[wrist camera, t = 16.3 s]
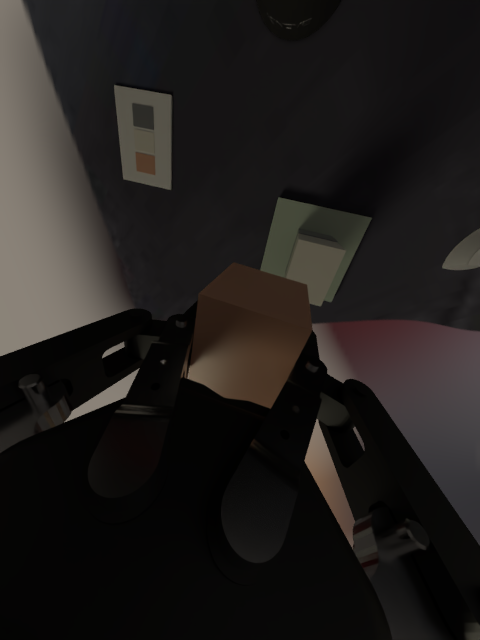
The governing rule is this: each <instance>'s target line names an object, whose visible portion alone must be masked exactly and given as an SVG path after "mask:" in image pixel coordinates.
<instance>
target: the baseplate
mask: <svg viewBox="0 0 480 640" xmlns="http://www.w3.org/2000/svg"><path fill="white" fill-rule="evenodd" d="M371 219H372V218H370V217H366V216H361V215H357V214H352V213H348V212H343V211H339V210H334V209H329V208H325V207H320V206H316V205H311V204H307V203H302V202H298V201H293V200H289V199H284V198H279V197H278V201H277V205H276V209H275V213H274V217H273V221H272V225H271V229H270V233H269V237H268V241H267V245H266V249H265V253H264V257H263V261H262V265H261V269H260V271H264V272H267V273H270V274H274V275H277V276H280V277H285V274H286V270H287V267H288V264H289V261H290V258H291V255H292V252H293V249H294V245H295V242H296V239H297V236H298V233H300V234H304V235H308V236H312V237H316V238H321V239H325V240H329V241H333V242H337V243H338V244H339V245H341V246H342V247H343V248H344V249H345V250H346V252H345V255H344V257H343V259H342V261H341V263H340V265H339V268H338V270H337V272H336V274H335V276H334V279H333V281H332V283H331V285H330V287H329V290H328V292H327V294H326V296H325V298H324V300H325V301H329V302H332V300H333V297H334V295H335V293H336V291H337V289H338V287H339V285H340V283H341V281H342V279H343V277H344V275H345V273H346V271H347V269H348V266H349V264H350V262H351V260H352V258H353V256H354V254H355V252H356V250H357V248H358V246H359V244H360V242H361V240H362V238H363V235H364V233H365V231H366V229H367V227H368V225H369V223H370V221H371Z"/></svg>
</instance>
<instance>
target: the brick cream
mask: <svg viewBox="0 0 480 640" xmlns="http://www.w3.org/2000/svg"><path fill="white" fill-rule="evenodd" d="M345 252H346V250H345V249H344V248H343V247H342V246H341V245H339V244H338V243H337V242H333V241H329V240H325V239H321V238H316V237H312V236H308V235H304V234H300V233H298V236H297V239H296V242H295V245H294V249H293V252H292V255H291V258H290V261H289V264H288V267H287V270H286V274H285V277H284V278H287V279H290V280H294V281H297V282H300V283H303V284H307V288H308V297H309V303H310V304H313V305H317V306H321V305H322V303H323V300H324V298H325V296H326V294H327V292H328V290H329V287H330V285H331V283H332V281H333V279H334V276H335V274H336V272H337V270H338V268H339V265H340V263H341V261H342V259H343V257H344V255H345Z"/></svg>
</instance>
